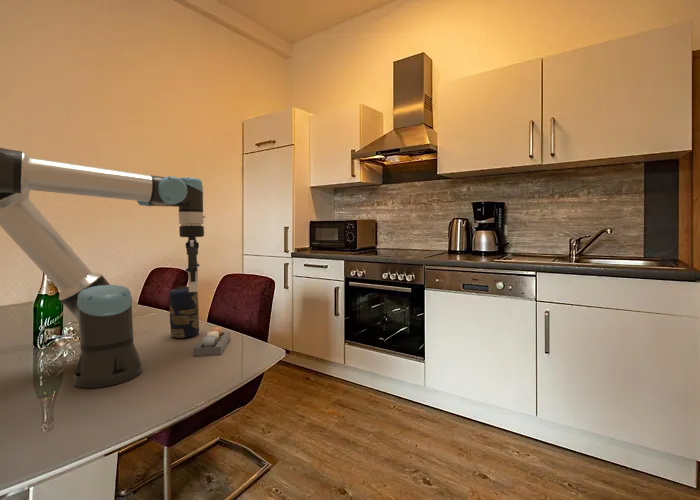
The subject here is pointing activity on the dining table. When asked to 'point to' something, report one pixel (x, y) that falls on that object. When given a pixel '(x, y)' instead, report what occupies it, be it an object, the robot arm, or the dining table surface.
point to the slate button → (209, 341)
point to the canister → (183, 312)
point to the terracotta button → (217, 330)
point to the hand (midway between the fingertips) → (193, 288)
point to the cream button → (214, 334)
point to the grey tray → (214, 350)
